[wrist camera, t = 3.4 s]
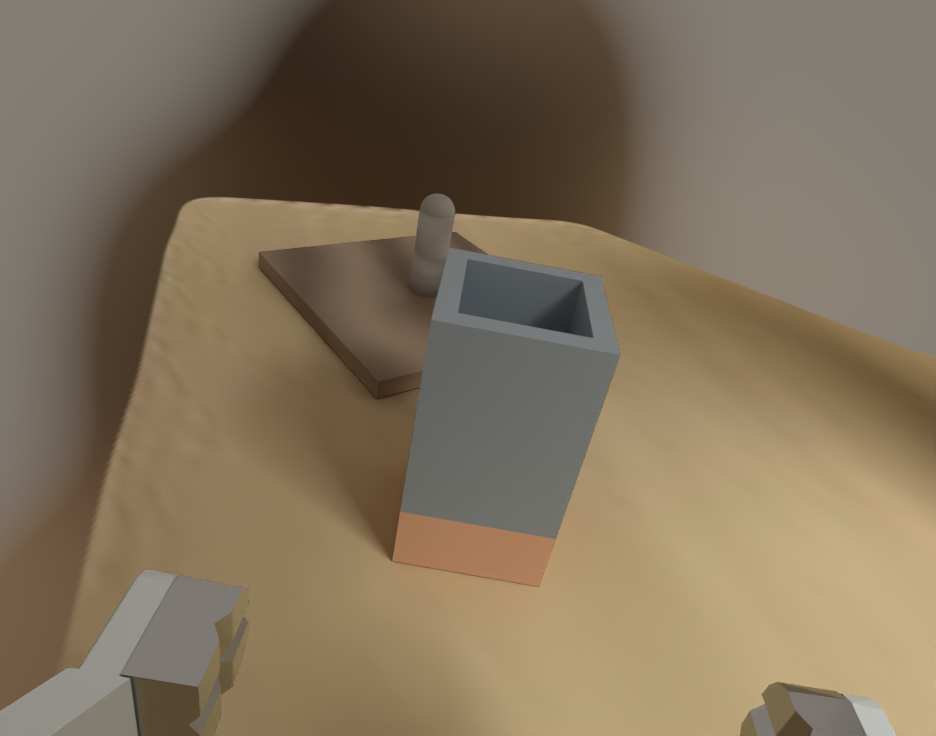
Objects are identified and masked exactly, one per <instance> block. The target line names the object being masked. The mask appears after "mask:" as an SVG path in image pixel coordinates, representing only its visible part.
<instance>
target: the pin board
mask: <svg viewBox="0 0 936 736" xmlns="http://www.w3.org/2000/svg"><path fill="white" fill-rule="evenodd" d="M454 216H455V209H454V205H453V203H452V201H451V200H450V199H449V198H448V197H447V196H445V195H442V194H432V195H429V196H428V197H426V198H425V199H424V200H423V202H422V204H421V207H420V213H419V220H418V227H417V235H416V236H410V237H400V238H391V239H381V240H371V241H361V242H351V243H342V244H332V245H322V246H312V247H302V248H292V249H283V250H273V251H263V252H259V267H260V268H261V270H262V271H263V272H264V273H265V274H266V275H267V276H268V277H269V279H270V280H271V281H272V282H273V283H274V284H275V285H276V286H277V288H278V289H279V290H280V291H281V292H282V293H283V294H284V295H285V297H286V298H287V299H288V300H289V301H290V302H291V303H292V304H293V306H294V307H295V308H296V309H297V310H298V311H299V312H300V313H301V314H302V316H303V317H304V318H305V319H306V320H307V321H308V322H309V323H310V325H311V326H312V327H313V328H314V329H315V330H316V331H317V332H318V334H319V335H320V336H321V337H322V338H323V339H324V340H325V341H326V343H327V344H328V345H329V346H330V347H331V348H332V349H333V350H334V351H335V353H336V354H337V355H338V356H339V357H340V358H341V359H342V360H343V362H344V363H345V364H346V365H347V366H348V367H349V368H350V369H351V371H352V372H353V373H354V374H355V375H356V376H357V377H358V378H359V380H360V381H361V382H362V383H363V384H364V385H365V386H366V387H367V389H368V390H369V391H370V392H371V393H372V394H373V395H374V396H375V397H376V399H377V398H381V397H385V396H389V395H393V394H396V393H400V392H404V391H408V390H412V389H416V388H420V386H421V380H422V373H423V367H424V361H425V355H426V349H427V343H428V336H429V330H430V324H431V318H432V314H433V311H434V307H435V303H436V299H437V295H438V291H439V287H440V283H441V279H442V275H443V271H444V267H445V263H446V259H447V255H448V251H449V248H455V249H460V250H465V251H470V252H476V253H481V254H486V255H488V254H487V253H485V252H484V251H482V250H481V249H479V248H478V247H476V246H475V245H474V244H472V243H471V242H469V241H468V240H466V239H465V238H463V237H462V236H460V235H459V234H458V233H456V232H452V228H453V222H454Z"/></svg>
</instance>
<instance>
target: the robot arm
mask: <svg viewBox="0 0 936 736" xmlns="http://www.w3.org/2000/svg"><path fill="white" fill-rule="evenodd" d="M248 604H249V597H248V589H247V588H242V587H237V586H232V585H227V584H222V583H217V582H212V581H207V580H201V579H196V578H191V577H186V576H181V575H177V574H172V573H166V572H161V571H155V570H150V569H145V570H144V571H143V572H142V573H141V574H140V575H139V576H138V577H136V579H135V580H134V582H133V583H132V585H131V586H130V588H129V590H128V591H127V593H126V594H125V596H124V597H123V599H122V601H121V602H120V604H119V605H118V607H117V608H116V610H115V612H114V613H113V615H112V616H111V618H110V620H109V621H108V623H107V624H106V626H105V627H104V629H103V631H102V632H101V634H100V635H99V637H98V638H97V640H96V642H95V643H94V645H93V646H92V648H91V650H90V651H89V653H88V654H87V656H86V657H85V659H84V661H83V662H82V664H81V665H80V667H79V668H70V667H67V668H66V669H64V670H62V671H61V672H59V673H58V674H56V675H55V676H53V677H51V678H50V679H48V680H47V681H45V682H44V683H42V684H41V685H39V686H38V687H36V688H34V689H33V690H31V691H30V692H28V693H27V694H25V695H23V696H22V697H20V698H19V699H17V700H16V701H14V702H12V703H11V704H9V705H8V706H6V707H5V708H3V709H2V710H0V736H213V734H214V732H215V729H216V727H217V724H218V722H219V719H220V717H221V695H222V694H223V693H225V692H226V691H227V690H228V689H230V688H231V687H232V686H233V684H234V682H235V679H236V676H237V674H238V671H239V669H240V666H241V662H242V659H243V655H244V652H245V648H246V643H247V636H248V621H247V620H246V619H245V618H244V617H243V616H244V613H245V611H246V608H247V606H248ZM762 696H763V699H764V702H765V704H764V705H762V706H760V707H757V708H755V709H753V710H750V711H749V713H748V715H747V716H746V718H745V719H744V721H743V722H742V726H741V733H740V736H896V734H895V732H894V730H893V728H892V726H891V724H890V722H889V720H888V718H887V716H886V714H885V712H884V710H883V708H882V707H881V706H880V705H879V704H878V703H877V702H876V701H875V700H874V699H870V698H867V697H861V696H854V695H848V694H842V693H838V692H836V691H831V690H824V689H818V688H812V687H806V686H800V685H793V684H787V683H781V682H776V683H773V684H770V685H769V686H768V687H767V688H766V690H765V691H764V692H763V693H762Z"/></svg>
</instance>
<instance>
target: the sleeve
mask: <svg viewBox="0 0 936 736" xmlns="http://www.w3.org/2000/svg"><path fill="white" fill-rule="evenodd" d="M619 357H620V352H619V348H618V344H617V340H616V336H615V332H614V328H613V324H612V320H611V316H610V312H609V308H608V304H607V300H606V296H605V292H604V288H603V284H602V280H601V276H596V275H591V274H586V273H581V272H575V271H570V270H565V269H560V268H554V267H549V266H544V265H539V264H533V263H528V262H523V261H518V260H512V259H507V258H502V257H497V256H491V255H486V254H481V253H476V252H470V251H465V250H460V249H455V248H449V251H448V255H447V259H446V263H445V267H444V271H443V275H442V279H441V283H440V287H439V291H438V295H437V299H436V303H435V307H434V311H433V314H432V318H431V324H430V330H429V336H428V343H427V349H426V355H425V361H424V367H423V373H422V380H421V386H420V392H419V398H418V404H417V411H416V417H415V423H414V429H413V435H412V441H411V448H410V454H409V460H408V466H407V472H406V479H405V485H404V491H403V497H402V503H401V509H400V516H399V522H398V528H397V534H396V540H395V547H394V553H393V559H392V561H394V562H400V563H406V564H411V565H417V566H423V567H429V568H434V569H440V570H446V571H452V572H457V573H463V574H469V575H475V576H480V577H486V578H492V579H498V580H503V581H509V582H515V583H521V584H527V585H532V586H538V587H539V586H540V583H541V580H542V577H543V574H544V571H545V568H546V566H547V563H548V560H549V557H550V554H551V551H552V548H553V546H554V543H555V540H556V537H557V534H558V531H559V529H560V526H561V523H562V520H563V517H564V514H565V511H566V509H567V506H568V503H569V500H570V497H571V494H572V491H573V489H574V486H575V483H576V480H577V477H578V474H579V471H580V469H581V466H582V463H583V460H584V457H585V454H586V451H587V449H588V446H589V443H590V440H591V437H592V434H593V431H594V429H595V426H596V423H597V420H598V417H599V414H600V411H601V409H602V406H603V403H604V400H605V397H606V394H607V392H608V389H609V386H610V383H611V380H612V377H613V374H614V372H615V369H616V366H617V363H618V360H619Z"/></svg>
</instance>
